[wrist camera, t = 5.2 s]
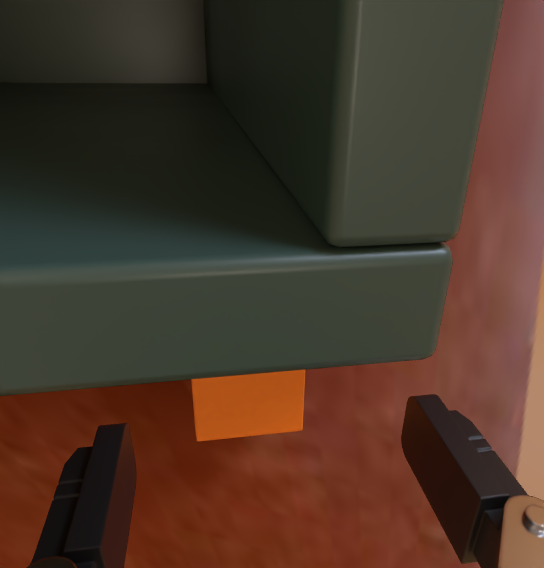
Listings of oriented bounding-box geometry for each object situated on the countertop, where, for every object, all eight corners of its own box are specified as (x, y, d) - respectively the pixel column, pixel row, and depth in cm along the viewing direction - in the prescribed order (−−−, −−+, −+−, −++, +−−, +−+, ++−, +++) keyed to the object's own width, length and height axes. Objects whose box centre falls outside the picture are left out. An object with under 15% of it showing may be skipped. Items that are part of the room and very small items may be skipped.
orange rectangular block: (196, 388, 22) (196, 442, 19) (181, 207, 18) (178, 236, 15) (287, 380, 23) (302, 431, 19) (292, 203, 19) (312, 230, 16)
